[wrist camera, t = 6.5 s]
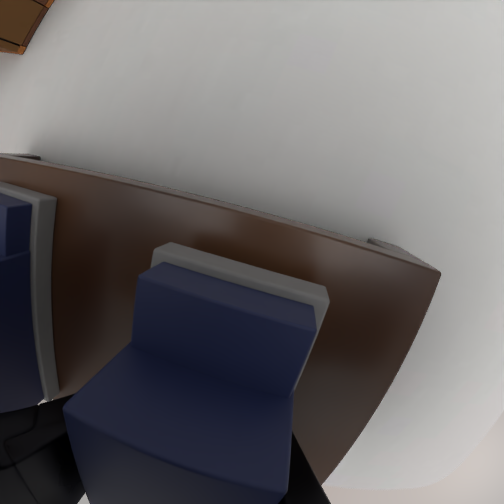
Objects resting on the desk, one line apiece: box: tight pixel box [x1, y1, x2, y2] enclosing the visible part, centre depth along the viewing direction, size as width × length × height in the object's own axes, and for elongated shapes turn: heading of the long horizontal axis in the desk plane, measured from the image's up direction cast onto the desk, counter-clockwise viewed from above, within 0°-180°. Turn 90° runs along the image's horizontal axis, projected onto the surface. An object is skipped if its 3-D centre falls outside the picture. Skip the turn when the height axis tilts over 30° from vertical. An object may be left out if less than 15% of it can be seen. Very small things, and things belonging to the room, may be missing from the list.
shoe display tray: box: [0, 153, 441, 485], centre depth 11 cm, size 20×11×4 cm, turn 76°
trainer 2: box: [62, 242, 330, 504], centre depth 6 cm, size 9×4×4 cm, turn 166°
